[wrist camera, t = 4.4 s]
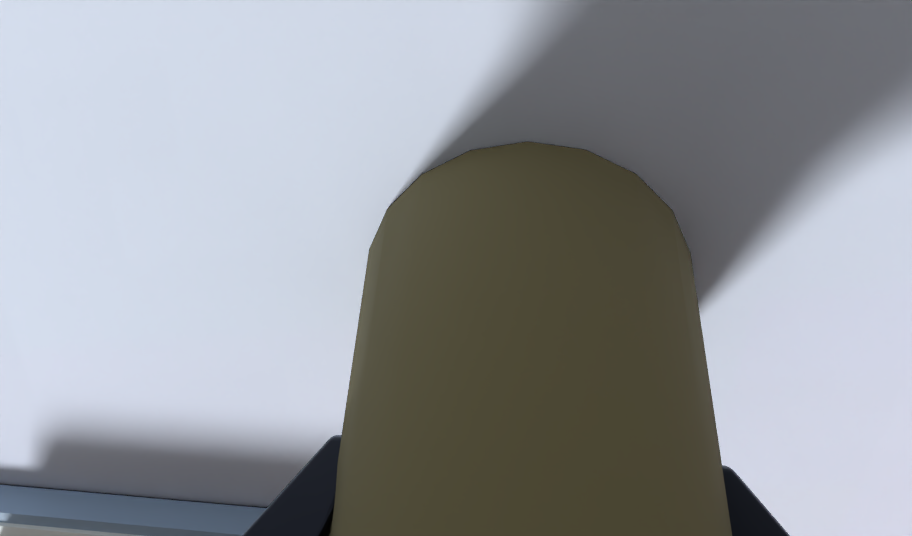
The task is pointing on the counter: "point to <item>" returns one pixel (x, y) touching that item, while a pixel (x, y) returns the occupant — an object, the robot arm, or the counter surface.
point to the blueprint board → (115, 515)
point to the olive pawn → (529, 360)
